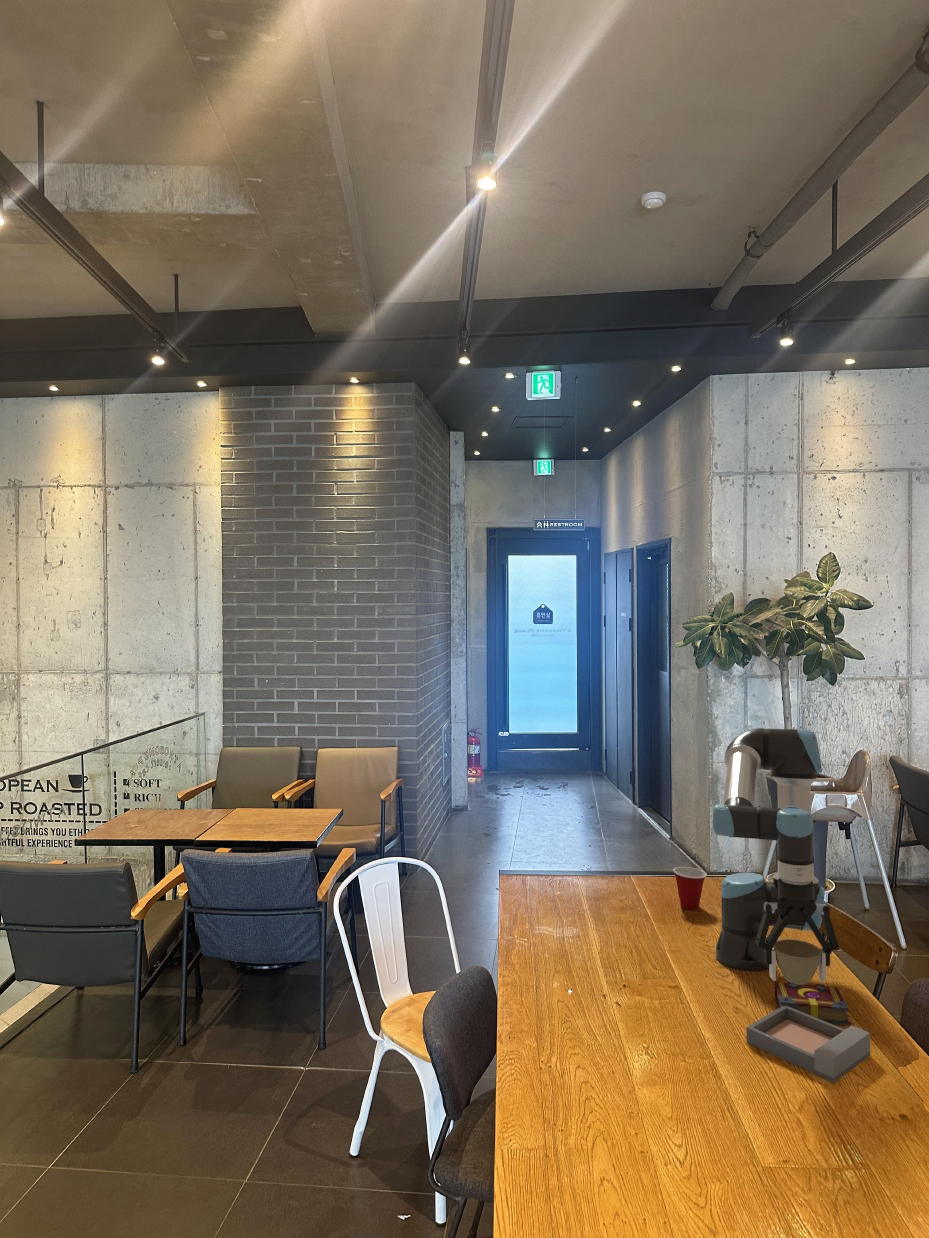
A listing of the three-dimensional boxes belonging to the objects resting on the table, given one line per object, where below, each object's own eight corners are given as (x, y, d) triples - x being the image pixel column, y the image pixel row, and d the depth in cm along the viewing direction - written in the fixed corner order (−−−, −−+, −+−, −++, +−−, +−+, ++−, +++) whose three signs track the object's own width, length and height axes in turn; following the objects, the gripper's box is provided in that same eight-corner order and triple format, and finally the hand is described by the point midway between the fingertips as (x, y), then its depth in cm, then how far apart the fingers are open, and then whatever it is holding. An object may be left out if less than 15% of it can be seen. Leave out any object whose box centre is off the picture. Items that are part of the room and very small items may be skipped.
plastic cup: (711, 912, 256) (711, 875, 256) (678, 912, 256) (677, 876, 256) (702, 900, 267) (701, 865, 267) (670, 900, 267) (669, 865, 267)
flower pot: (773, 985, 174) (772, 953, 174) (773, 967, 183) (773, 936, 183) (822, 993, 170) (822, 960, 170) (820, 973, 179) (820, 942, 179)
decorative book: (773, 998, 199) (773, 978, 199) (843, 1004, 195) (842, 984, 195) (780, 1020, 188) (780, 999, 188) (854, 1027, 184) (853, 1006, 184)
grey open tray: (784, 1019, 188) (784, 998, 188) (870, 1055, 172) (869, 1032, 172) (746, 1042, 178) (746, 1020, 178) (833, 1082, 162) (833, 1058, 162)
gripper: (747, 883, 174) (749, 984, 174) (854, 886, 171) (856, 988, 171) (740, 873, 182) (741, 969, 181) (842, 875, 179) (844, 973, 179)
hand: (797, 978), depth 176 cm, fingers closed on flower pot, 10 cm apart
